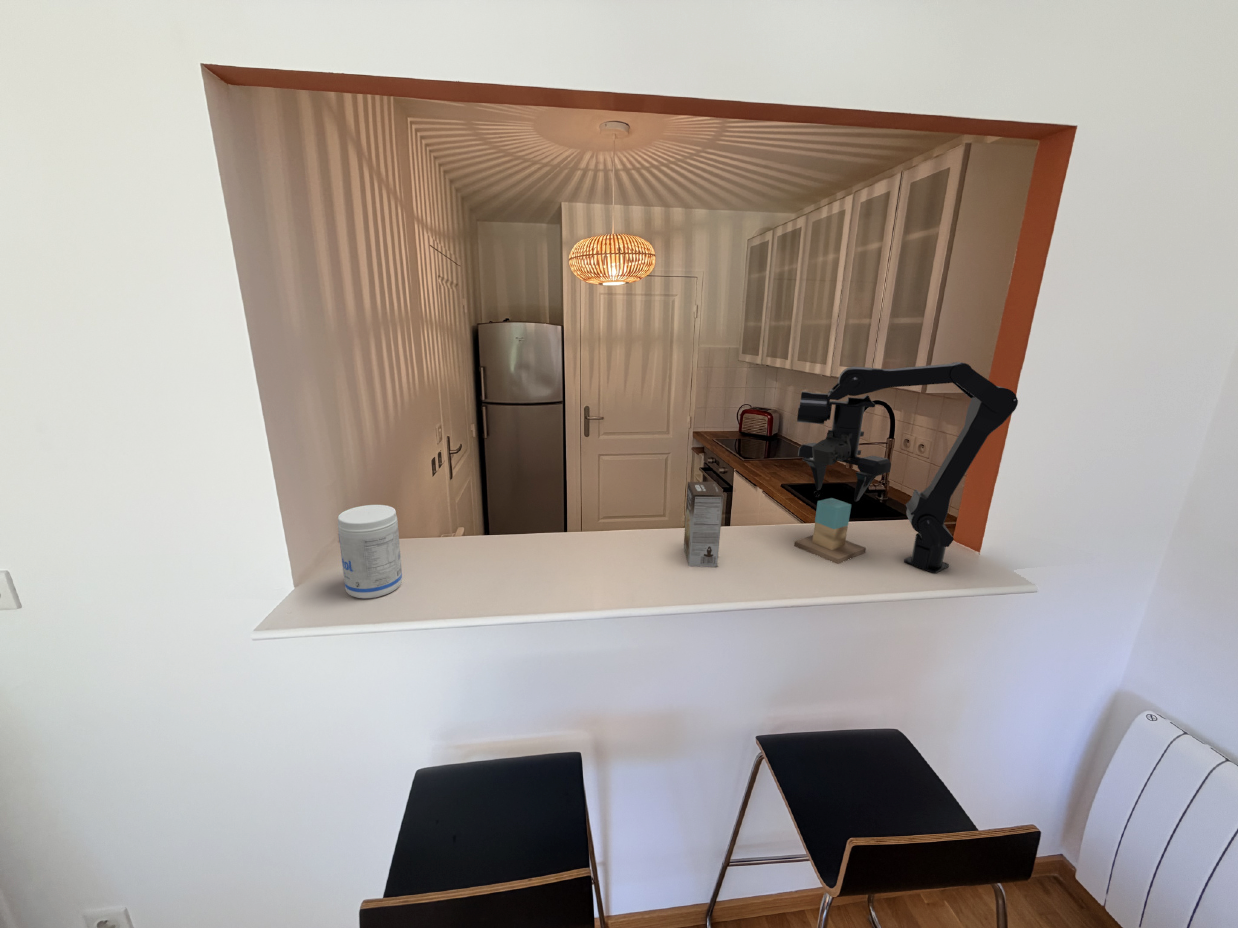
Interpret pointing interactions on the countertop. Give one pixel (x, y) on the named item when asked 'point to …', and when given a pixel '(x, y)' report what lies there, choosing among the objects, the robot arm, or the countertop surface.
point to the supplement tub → (370, 550)
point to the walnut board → (832, 555)
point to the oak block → (829, 536)
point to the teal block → (832, 513)
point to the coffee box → (703, 523)
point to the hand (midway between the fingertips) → (836, 495)
